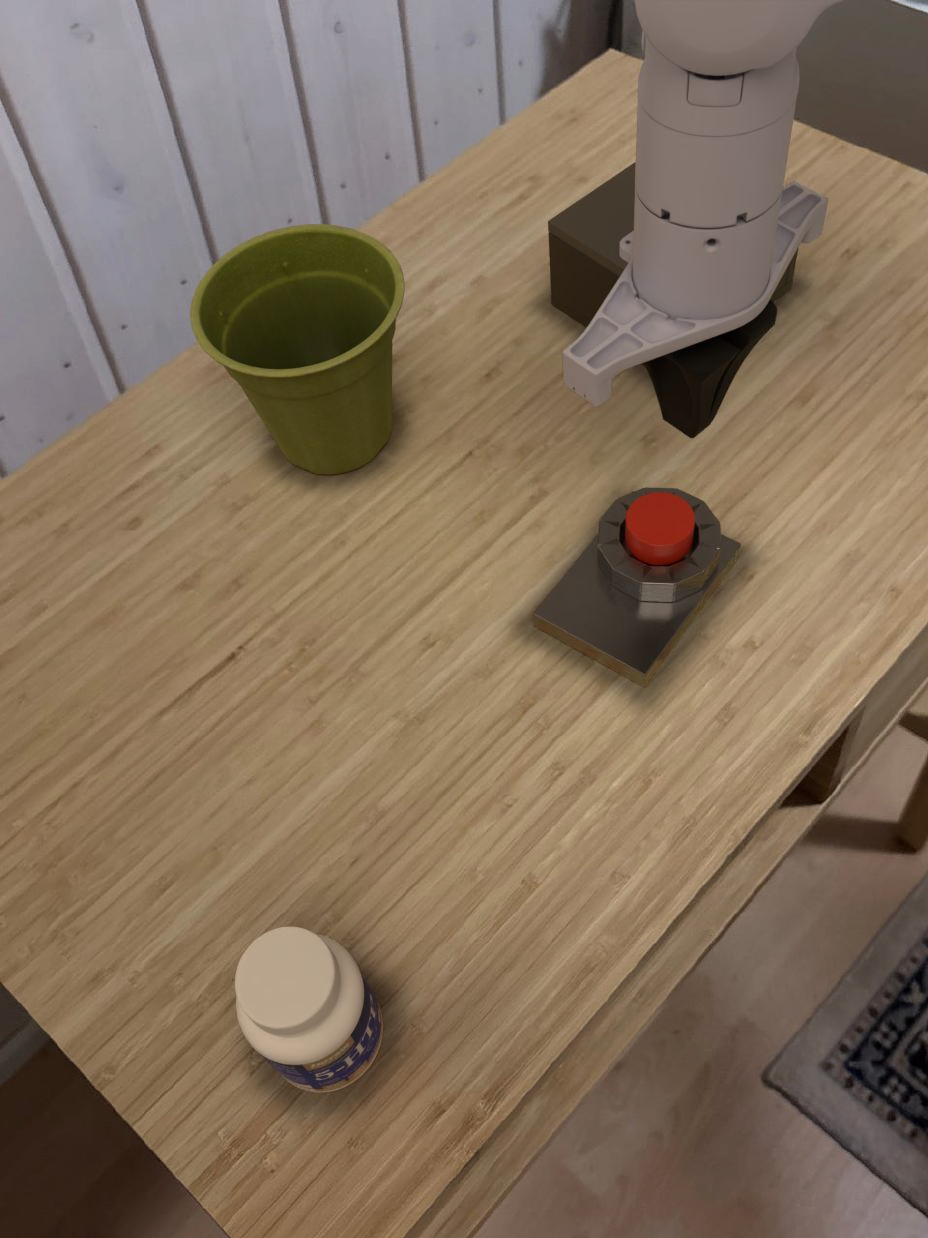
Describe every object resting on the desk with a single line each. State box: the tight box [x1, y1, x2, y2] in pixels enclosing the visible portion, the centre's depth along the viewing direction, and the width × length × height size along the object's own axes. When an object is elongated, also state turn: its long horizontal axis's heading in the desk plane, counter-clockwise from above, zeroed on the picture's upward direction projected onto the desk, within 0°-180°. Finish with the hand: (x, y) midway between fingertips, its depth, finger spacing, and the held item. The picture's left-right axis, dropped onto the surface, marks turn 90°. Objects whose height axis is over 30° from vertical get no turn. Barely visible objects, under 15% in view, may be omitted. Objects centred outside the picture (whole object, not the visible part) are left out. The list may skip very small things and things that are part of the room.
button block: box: [532, 486, 742, 688], centre depth 62 cm, size 10×7×3 cm
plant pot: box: [189, 223, 406, 475], centre depth 67 cm, size 12×12×11 cm
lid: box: [547, 161, 636, 277], centre depth 70 cm, size 11×12×1 cm
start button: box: [625, 492, 695, 565], centre depth 61 cm, size 4×4×2 cm
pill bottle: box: [234, 925, 384, 1093], centre depth 48 cm, size 5×5×9 cm
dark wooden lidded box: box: [547, 231, 800, 367], centre depth 73 cm, size 11×12×6 cm
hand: (686, 421), depth 56 cm, fingers closed
